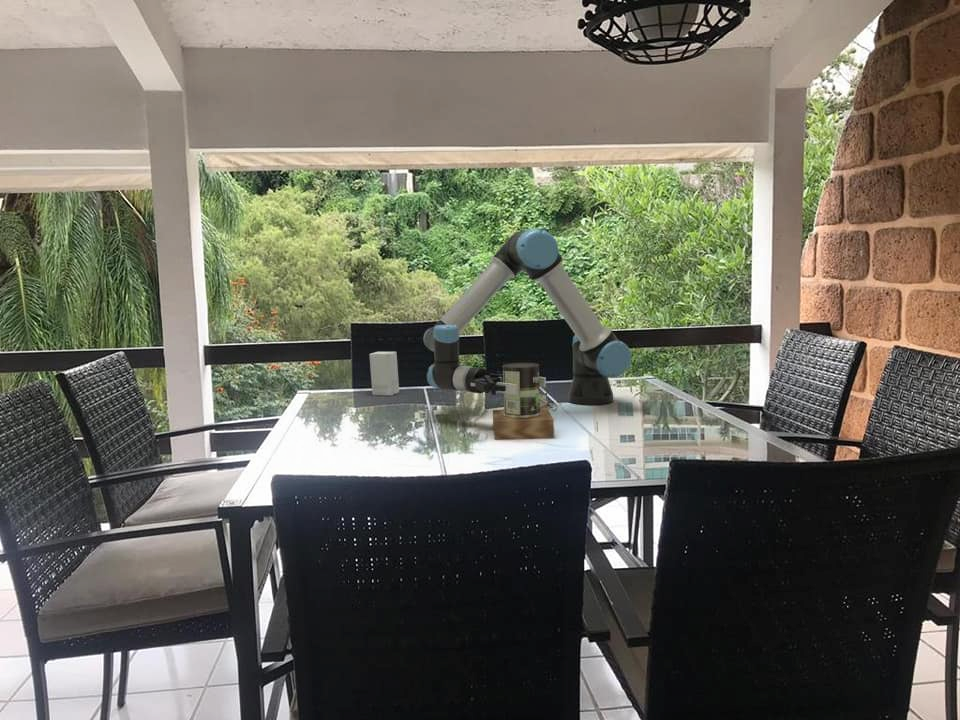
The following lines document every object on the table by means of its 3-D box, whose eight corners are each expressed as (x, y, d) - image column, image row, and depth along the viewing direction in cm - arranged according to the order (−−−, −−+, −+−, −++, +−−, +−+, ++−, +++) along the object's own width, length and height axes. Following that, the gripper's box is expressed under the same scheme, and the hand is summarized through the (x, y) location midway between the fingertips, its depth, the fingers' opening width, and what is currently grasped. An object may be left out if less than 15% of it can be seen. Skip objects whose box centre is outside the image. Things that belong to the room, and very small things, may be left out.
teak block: (547, 425, 228) (547, 408, 227) (553, 437, 212) (553, 419, 211) (493, 426, 228) (492, 409, 227) (494, 439, 212) (494, 421, 211)
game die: (543, 429, 239) (562, 402, 239) (536, 425, 231) (556, 397, 232) (520, 413, 243) (539, 387, 243) (513, 408, 235) (532, 381, 235)
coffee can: (542, 411, 223) (541, 362, 221) (537, 418, 213) (536, 367, 211) (506, 410, 225) (505, 362, 223) (500, 418, 215) (499, 367, 213)
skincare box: (399, 393, 289) (398, 351, 287) (390, 396, 283) (388, 353, 281) (380, 392, 293) (378, 350, 290) (370, 395, 287) (368, 353, 285)
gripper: (498, 386, 239) (556, 392, 226) (444, 398, 220) (503, 406, 207) (497, 361, 238) (556, 366, 225) (443, 372, 219) (503, 378, 206)
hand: (531, 385), depth 216 cm, fingers open, 13 cm apart
